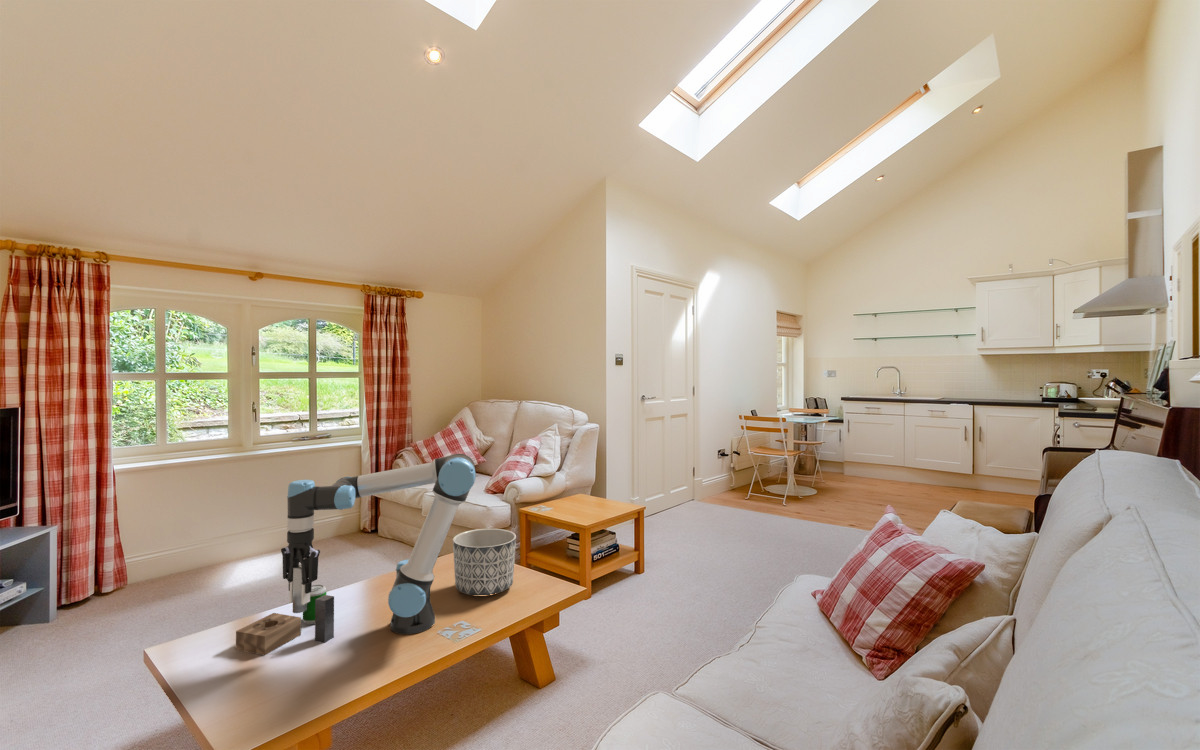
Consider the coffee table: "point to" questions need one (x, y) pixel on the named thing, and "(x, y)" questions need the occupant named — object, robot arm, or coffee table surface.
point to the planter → (484, 561)
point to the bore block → (268, 633)
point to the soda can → (313, 603)
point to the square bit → (324, 618)
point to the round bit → (298, 590)
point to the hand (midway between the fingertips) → (299, 601)
